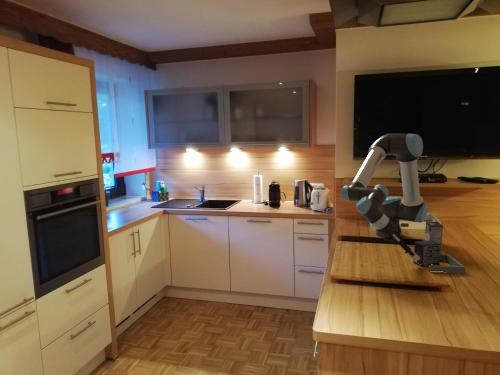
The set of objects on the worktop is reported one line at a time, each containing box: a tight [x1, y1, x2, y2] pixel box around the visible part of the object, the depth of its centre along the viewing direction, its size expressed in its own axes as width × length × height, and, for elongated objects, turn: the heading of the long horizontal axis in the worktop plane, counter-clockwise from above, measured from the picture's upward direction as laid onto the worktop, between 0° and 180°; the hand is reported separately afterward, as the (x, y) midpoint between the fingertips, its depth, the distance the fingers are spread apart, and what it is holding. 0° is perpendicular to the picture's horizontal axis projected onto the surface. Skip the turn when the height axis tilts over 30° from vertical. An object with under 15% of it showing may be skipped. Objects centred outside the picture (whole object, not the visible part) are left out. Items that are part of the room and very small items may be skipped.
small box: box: [413, 240, 442, 266], centre depth 181 cm, size 11×6×10 cm, turn 107°
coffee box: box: [424, 221, 444, 254], centre depth 194 cm, size 9×6×16 cm
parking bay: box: [428, 253, 466, 275], centre depth 178 cm, size 18×15×3 cm
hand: (417, 259), depth 178 cm, fingers closed
